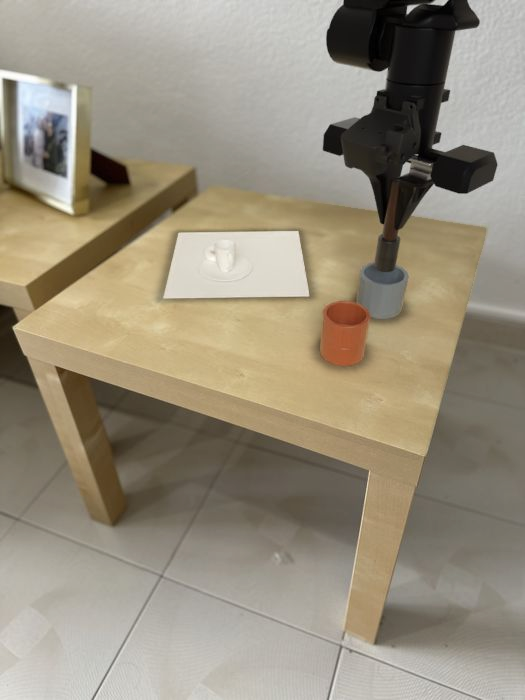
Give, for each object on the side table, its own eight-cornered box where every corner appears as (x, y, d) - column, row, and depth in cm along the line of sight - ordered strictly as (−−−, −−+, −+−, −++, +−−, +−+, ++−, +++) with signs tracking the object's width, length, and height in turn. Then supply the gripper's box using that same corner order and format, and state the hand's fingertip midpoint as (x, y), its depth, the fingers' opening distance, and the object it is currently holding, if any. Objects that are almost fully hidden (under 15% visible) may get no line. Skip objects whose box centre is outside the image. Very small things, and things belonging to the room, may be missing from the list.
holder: (373, 352, 60) (379, 314, 57) (344, 372, 58) (349, 333, 54) (339, 333, 63) (343, 295, 60) (310, 351, 61) (313, 312, 57)
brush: (399, 267, 64) (415, 180, 57) (386, 274, 62) (401, 186, 56) (382, 259, 65) (396, 174, 58) (369, 266, 64) (382, 180, 57)
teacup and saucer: (201, 254, 79) (198, 230, 77) (252, 253, 79) (251, 229, 77) (196, 284, 72) (194, 258, 70) (252, 283, 72) (252, 257, 70)
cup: (410, 306, 68) (417, 274, 65) (383, 324, 65) (389, 291, 62) (374, 289, 71) (379, 257, 68) (346, 305, 68) (350, 272, 65)
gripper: (291, 76, 52) (287, 221, 62) (456, 112, 41) (419, 280, 51) (361, 62, 58) (347, 196, 67) (521, 90, 47) (477, 244, 57)
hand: (391, 226), depth 60 cm, fingers closed on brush, 2 cm apart
